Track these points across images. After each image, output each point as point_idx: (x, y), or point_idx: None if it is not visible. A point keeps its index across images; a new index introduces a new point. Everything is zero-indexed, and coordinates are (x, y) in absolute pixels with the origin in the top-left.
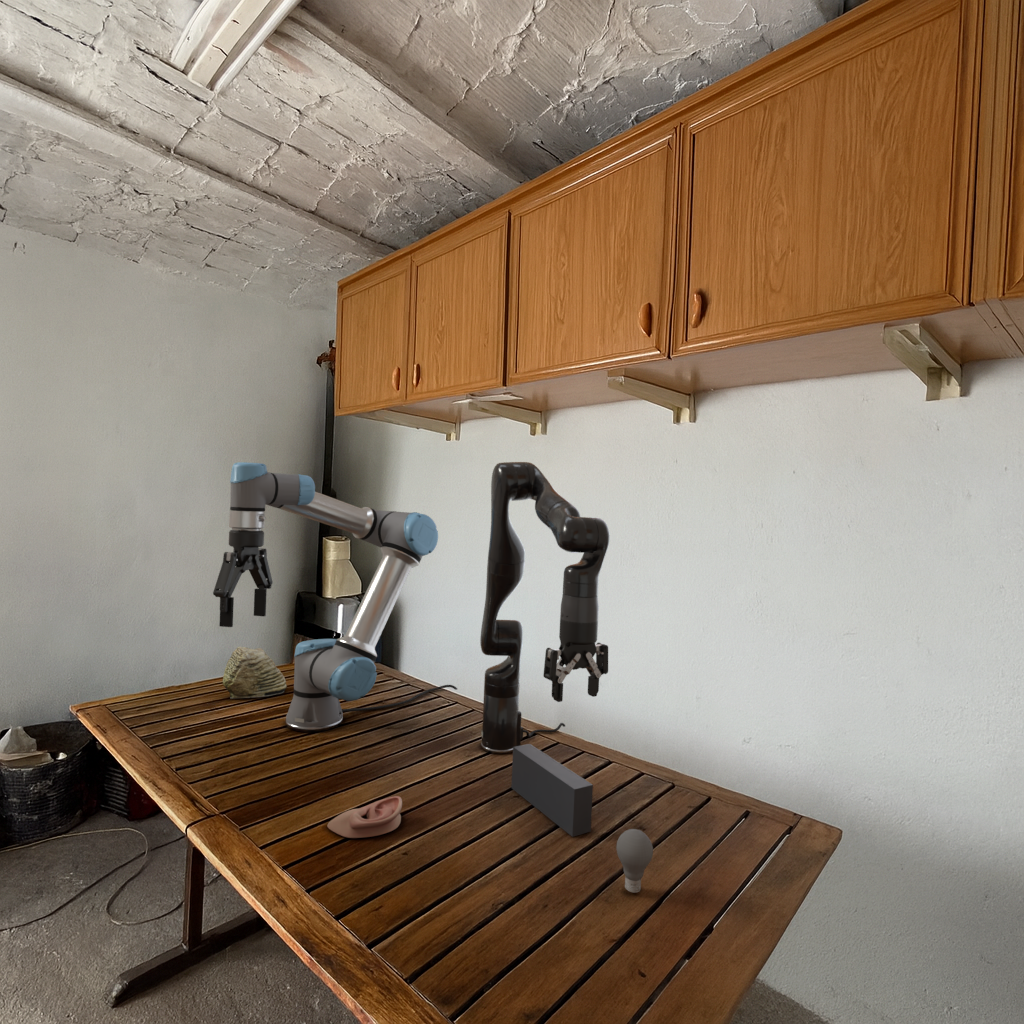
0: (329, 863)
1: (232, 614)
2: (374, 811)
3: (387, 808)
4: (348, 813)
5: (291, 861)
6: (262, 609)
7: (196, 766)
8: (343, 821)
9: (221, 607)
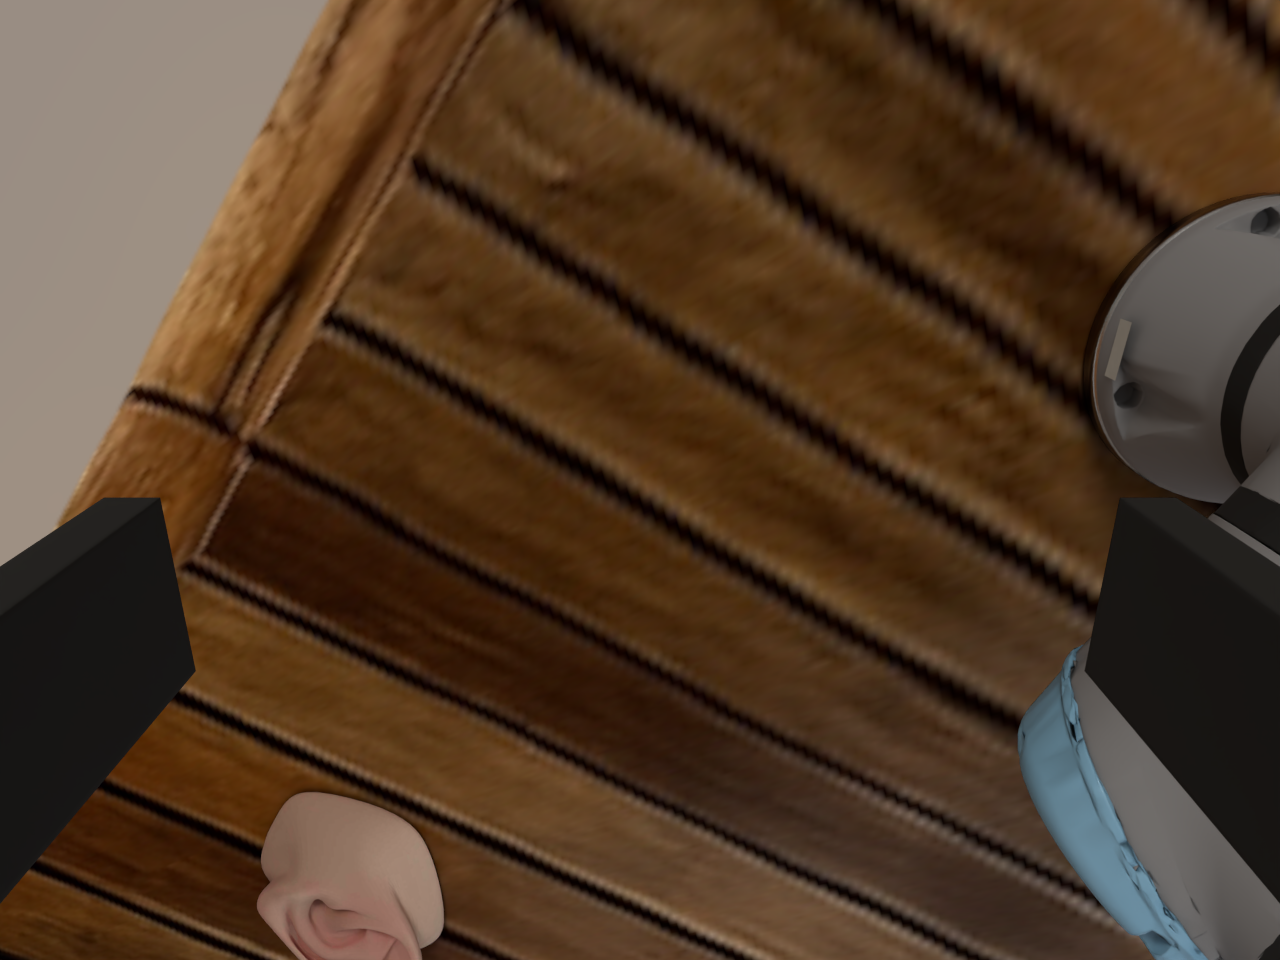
0: (140, 859)
1: (67, 799)
2: (345, 929)
3: (372, 955)
4: (331, 856)
5: None
6: (1152, 713)
7: (578, 74)
8: (293, 852)
9: None
